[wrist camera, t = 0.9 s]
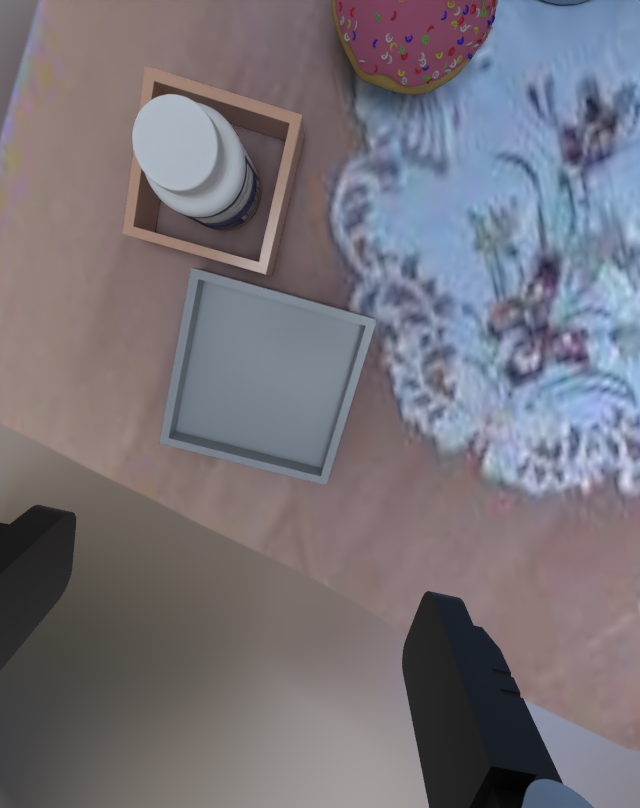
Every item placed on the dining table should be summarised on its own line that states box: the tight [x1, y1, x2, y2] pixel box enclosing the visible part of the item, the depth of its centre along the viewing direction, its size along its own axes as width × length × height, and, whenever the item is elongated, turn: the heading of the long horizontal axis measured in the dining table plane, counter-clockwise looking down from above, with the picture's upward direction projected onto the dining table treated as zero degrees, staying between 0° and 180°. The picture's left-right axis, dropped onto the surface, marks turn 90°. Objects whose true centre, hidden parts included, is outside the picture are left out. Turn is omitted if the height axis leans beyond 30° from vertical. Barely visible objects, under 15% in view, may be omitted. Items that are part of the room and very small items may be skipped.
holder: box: [122, 66, 305, 276], centre depth 27 cm, size 9×9×4 cm
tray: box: [159, 268, 377, 485], centre depth 31 cm, size 13×13×2 cm
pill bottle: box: [132, 94, 261, 230], centre depth 24 cm, size 5×5×10 cm
